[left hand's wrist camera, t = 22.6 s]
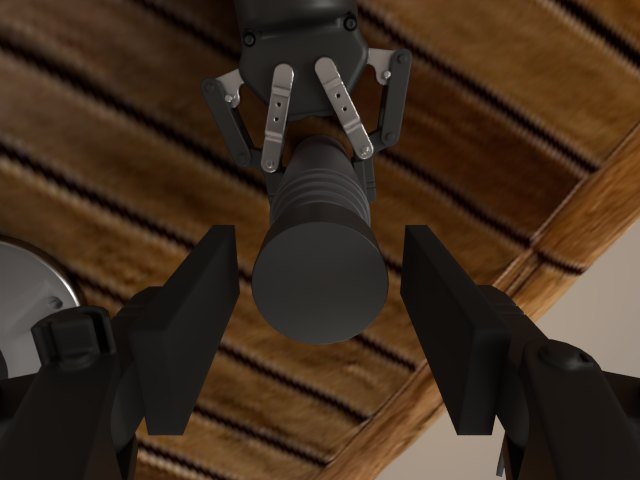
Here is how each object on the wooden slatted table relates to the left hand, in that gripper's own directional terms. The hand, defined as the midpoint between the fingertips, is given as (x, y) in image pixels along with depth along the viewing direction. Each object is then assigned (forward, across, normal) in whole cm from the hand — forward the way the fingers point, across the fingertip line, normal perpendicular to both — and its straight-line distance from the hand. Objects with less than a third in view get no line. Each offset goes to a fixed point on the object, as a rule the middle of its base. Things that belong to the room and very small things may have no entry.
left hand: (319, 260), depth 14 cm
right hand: (+15, 0, -3) cm, 15 cm away
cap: (-2, 0, 0) cm, 2 cm away
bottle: (+21, 0, 0) cm, 21 cm away
